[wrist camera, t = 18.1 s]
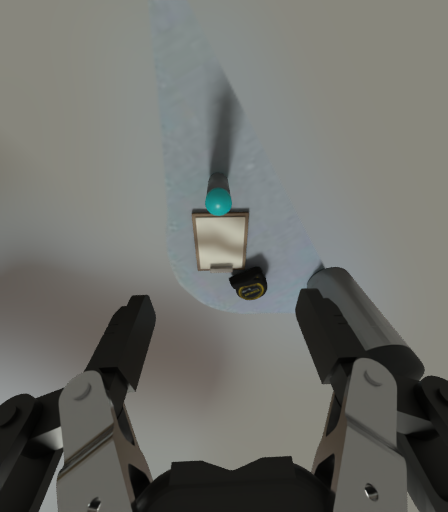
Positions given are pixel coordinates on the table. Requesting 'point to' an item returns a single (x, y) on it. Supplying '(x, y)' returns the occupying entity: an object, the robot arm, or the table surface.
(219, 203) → the marker
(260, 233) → the table surface
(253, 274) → the tape measure
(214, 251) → the clipboard
